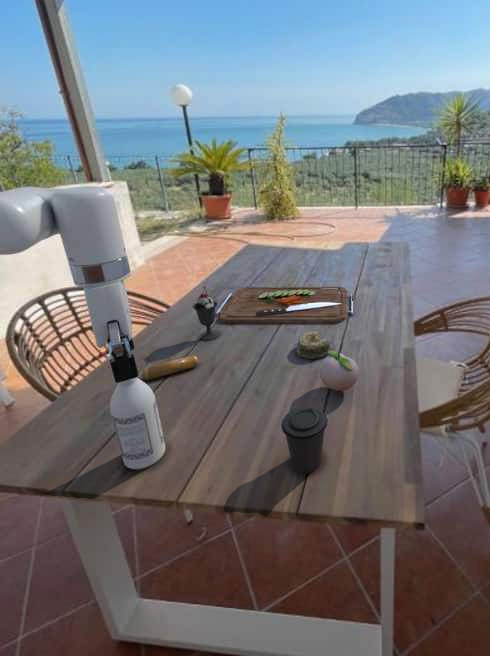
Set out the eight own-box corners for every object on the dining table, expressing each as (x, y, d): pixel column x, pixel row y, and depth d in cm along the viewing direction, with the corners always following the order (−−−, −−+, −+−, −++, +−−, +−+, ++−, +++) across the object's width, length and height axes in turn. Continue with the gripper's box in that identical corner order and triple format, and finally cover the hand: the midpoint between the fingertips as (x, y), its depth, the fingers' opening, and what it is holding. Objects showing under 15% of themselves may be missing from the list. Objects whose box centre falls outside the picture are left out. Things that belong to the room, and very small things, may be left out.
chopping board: (353, 289, 147) (353, 282, 146) (353, 322, 122) (353, 314, 121) (234, 290, 147) (233, 282, 145) (209, 323, 121) (208, 314, 120)
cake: (312, 365, 101) (310, 348, 99) (289, 351, 107) (286, 335, 105) (340, 348, 107) (338, 332, 105) (316, 336, 114) (314, 320, 112)
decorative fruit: (311, 390, 91) (310, 353, 87) (336, 374, 96) (335, 339, 93) (340, 408, 85) (340, 369, 81) (365, 390, 91) (365, 353, 87)
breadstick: (143, 384, 92) (140, 373, 91) (142, 377, 95) (139, 367, 94) (200, 367, 99) (199, 357, 98) (198, 361, 101) (196, 351, 100)
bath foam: (145, 438, 76) (124, 349, 69) (174, 446, 74) (156, 356, 68) (114, 465, 70) (88, 371, 63) (145, 475, 68) (122, 379, 61)
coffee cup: (327, 442, 76) (325, 400, 72) (330, 476, 68) (329, 431, 65) (284, 447, 74) (281, 404, 71) (283, 482, 67) (279, 436, 63)
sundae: (216, 328, 118) (210, 282, 113) (224, 336, 114) (218, 289, 108) (194, 335, 114) (186, 288, 109) (202, 344, 110) (194, 295, 104)
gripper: (74, 258, 65) (99, 347, 71) (67, 293, 51) (99, 400, 57) (126, 251, 68) (146, 336, 74) (132, 282, 54) (156, 383, 60)
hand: (125, 364), depth 66 cm, fingers open, 9 cm apart
